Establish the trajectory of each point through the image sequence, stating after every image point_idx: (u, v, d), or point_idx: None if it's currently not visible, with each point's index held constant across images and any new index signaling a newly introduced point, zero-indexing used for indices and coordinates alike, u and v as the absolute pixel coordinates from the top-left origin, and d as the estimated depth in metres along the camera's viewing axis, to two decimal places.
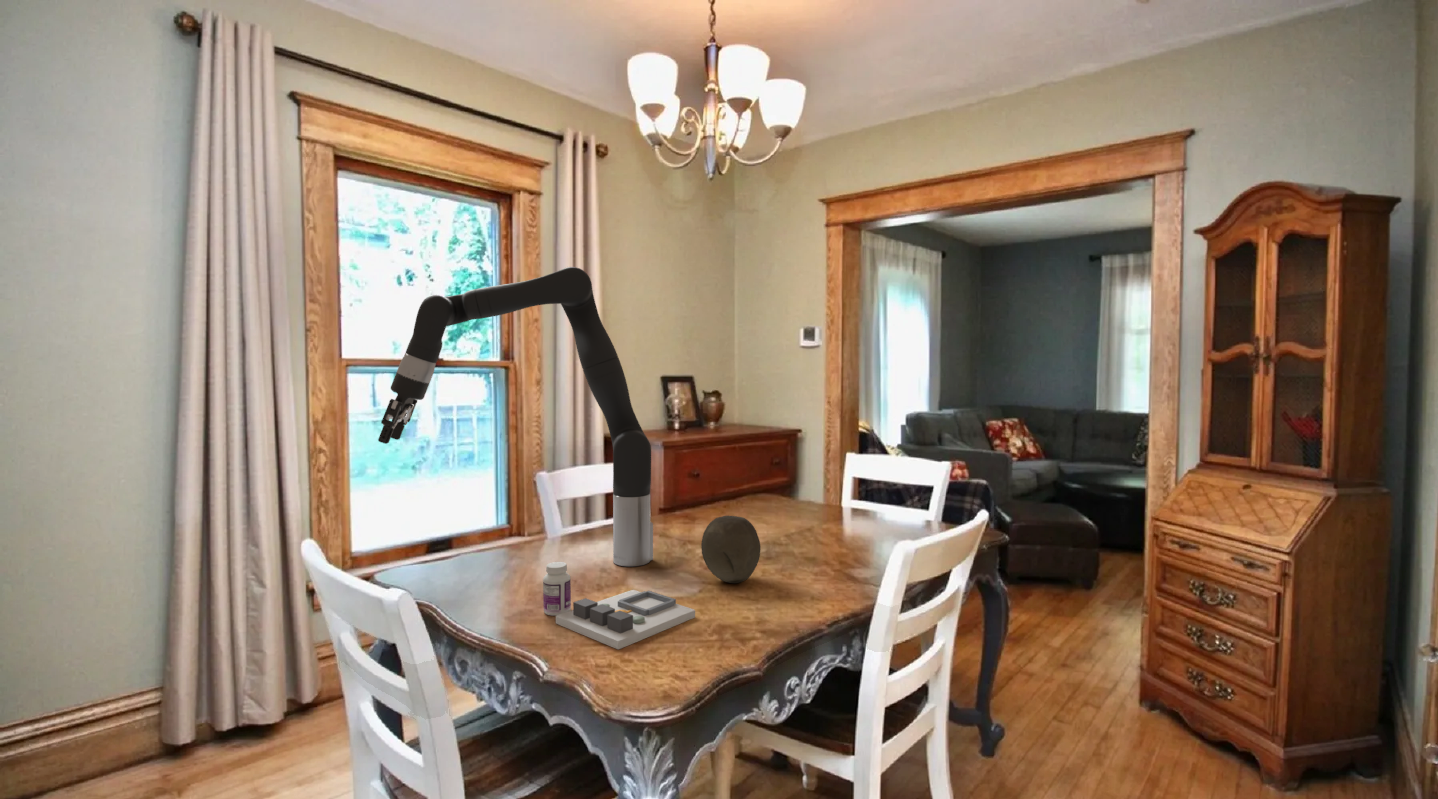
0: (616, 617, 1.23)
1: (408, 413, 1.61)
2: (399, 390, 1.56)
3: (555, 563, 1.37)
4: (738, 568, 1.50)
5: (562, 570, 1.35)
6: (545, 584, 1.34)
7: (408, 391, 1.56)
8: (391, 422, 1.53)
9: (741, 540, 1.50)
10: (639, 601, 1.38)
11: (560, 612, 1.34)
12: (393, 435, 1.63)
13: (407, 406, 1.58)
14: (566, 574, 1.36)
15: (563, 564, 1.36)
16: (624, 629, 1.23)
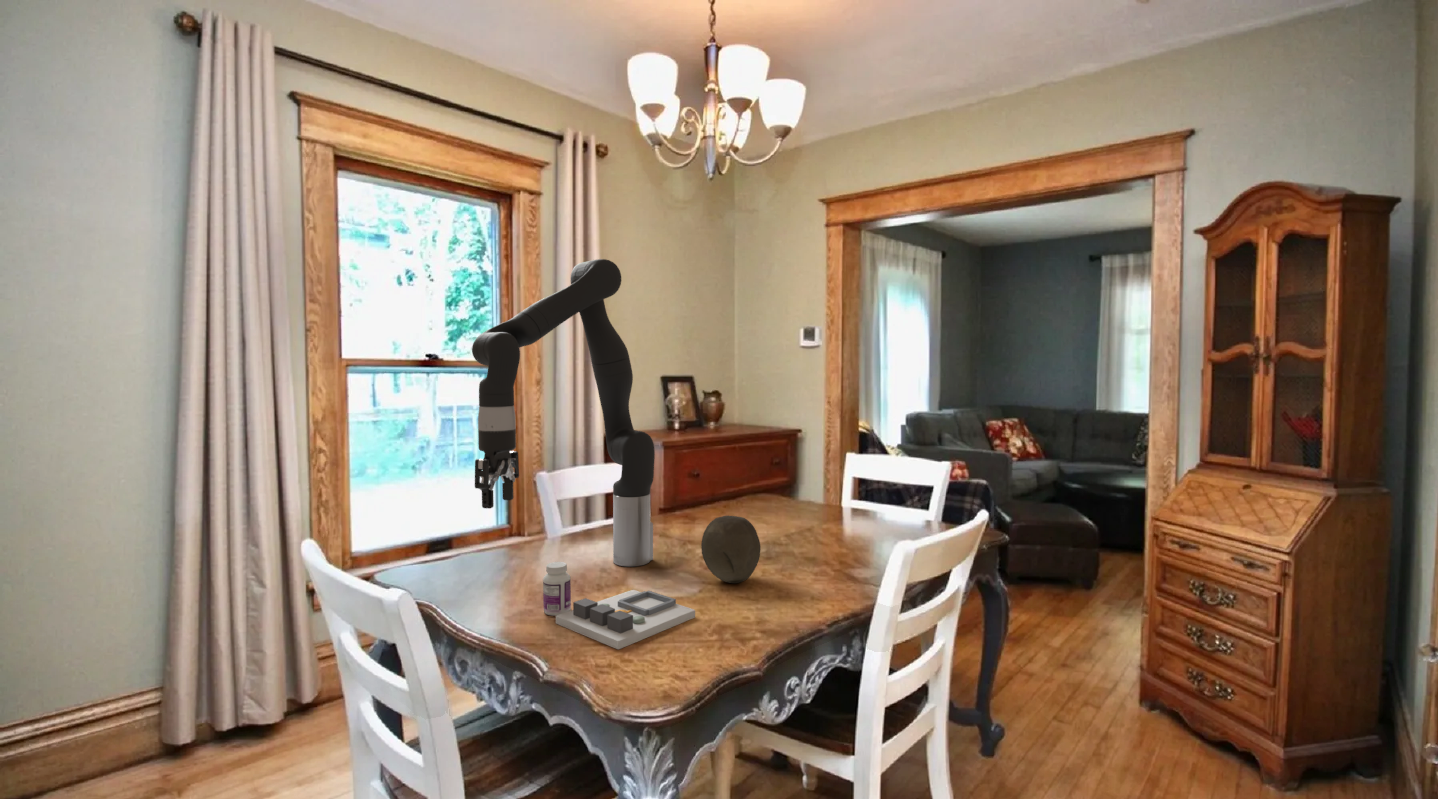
0: (616, 617, 1.23)
1: (508, 468, 1.45)
2: (484, 448, 1.39)
3: (555, 563, 1.37)
4: (738, 568, 1.50)
5: (562, 570, 1.35)
6: (545, 584, 1.34)
7: (492, 445, 1.39)
8: (484, 484, 1.36)
9: (741, 540, 1.50)
10: (639, 601, 1.38)
11: (560, 612, 1.34)
12: (505, 496, 1.47)
13: (500, 461, 1.41)
14: (566, 574, 1.36)
15: (563, 564, 1.36)
16: (624, 629, 1.23)
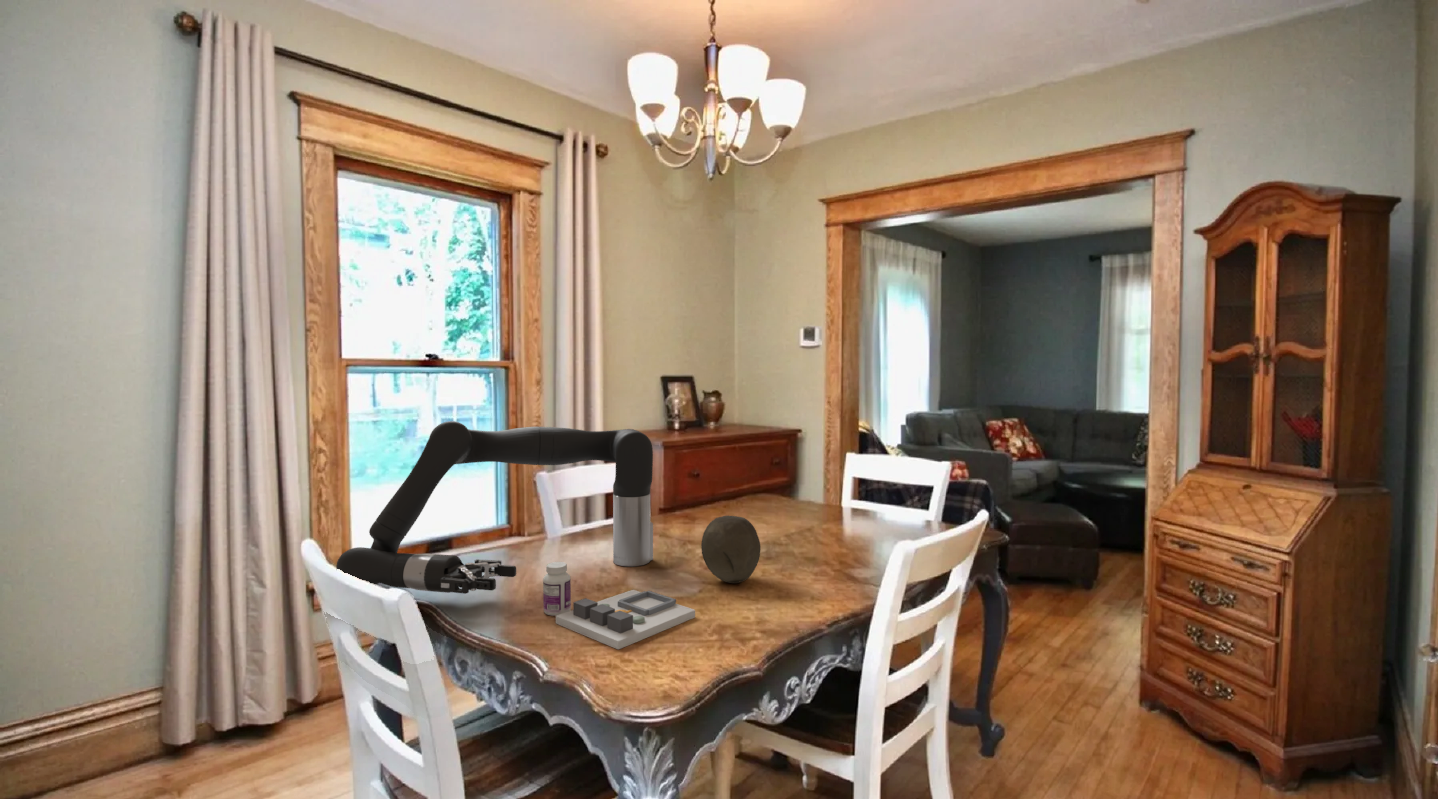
0: (616, 617, 1.23)
1: (477, 565, 1.41)
2: (440, 583, 1.37)
3: (555, 563, 1.37)
4: (738, 568, 1.50)
5: (562, 570, 1.35)
6: (545, 584, 1.34)
7: (437, 574, 1.37)
8: (461, 583, 1.32)
9: (741, 540, 1.50)
10: (639, 601, 1.38)
11: (560, 612, 1.34)
12: (511, 573, 1.42)
13: (459, 570, 1.38)
14: (566, 574, 1.36)
15: (563, 564, 1.36)
16: (624, 629, 1.23)
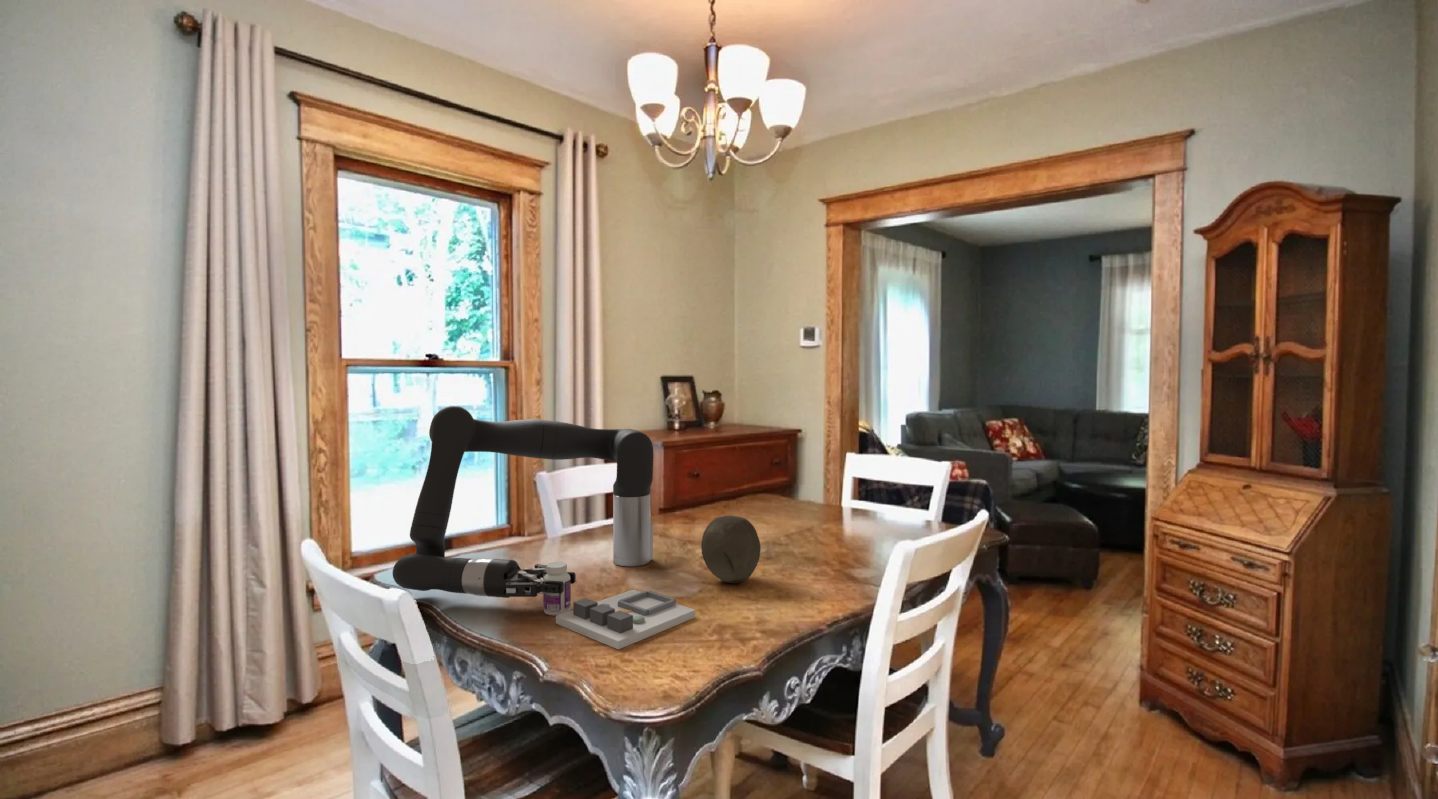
0: (616, 617, 1.23)
1: (535, 570, 1.38)
2: (499, 588, 1.35)
3: (555, 563, 1.37)
4: (738, 568, 1.50)
5: (562, 570, 1.35)
6: None
7: (497, 579, 1.35)
8: (531, 586, 1.31)
9: (741, 540, 1.50)
10: (639, 601, 1.38)
11: (560, 612, 1.34)
12: (571, 580, 1.39)
13: (518, 574, 1.36)
14: (566, 574, 1.36)
15: (563, 564, 1.36)
16: (624, 629, 1.23)
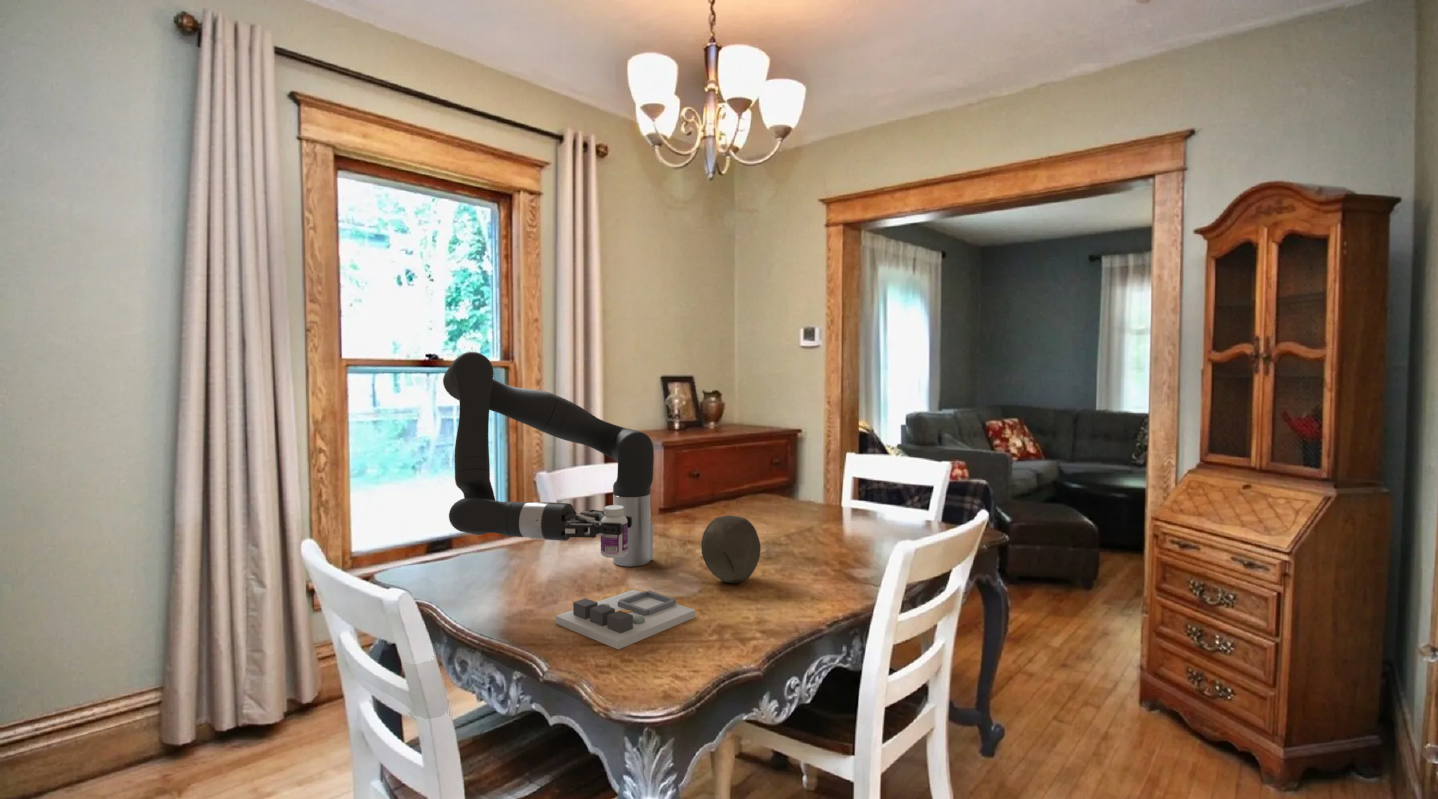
0: (616, 617, 1.23)
1: (592, 514, 1.38)
2: (557, 530, 1.34)
3: (612, 506, 1.36)
4: (738, 568, 1.50)
5: (620, 512, 1.34)
6: None
7: (555, 521, 1.34)
8: (590, 527, 1.30)
9: (741, 540, 1.50)
10: (639, 601, 1.38)
11: (618, 554, 1.33)
12: None
13: (576, 517, 1.35)
14: (623, 517, 1.35)
15: (620, 507, 1.35)
16: (624, 629, 1.23)
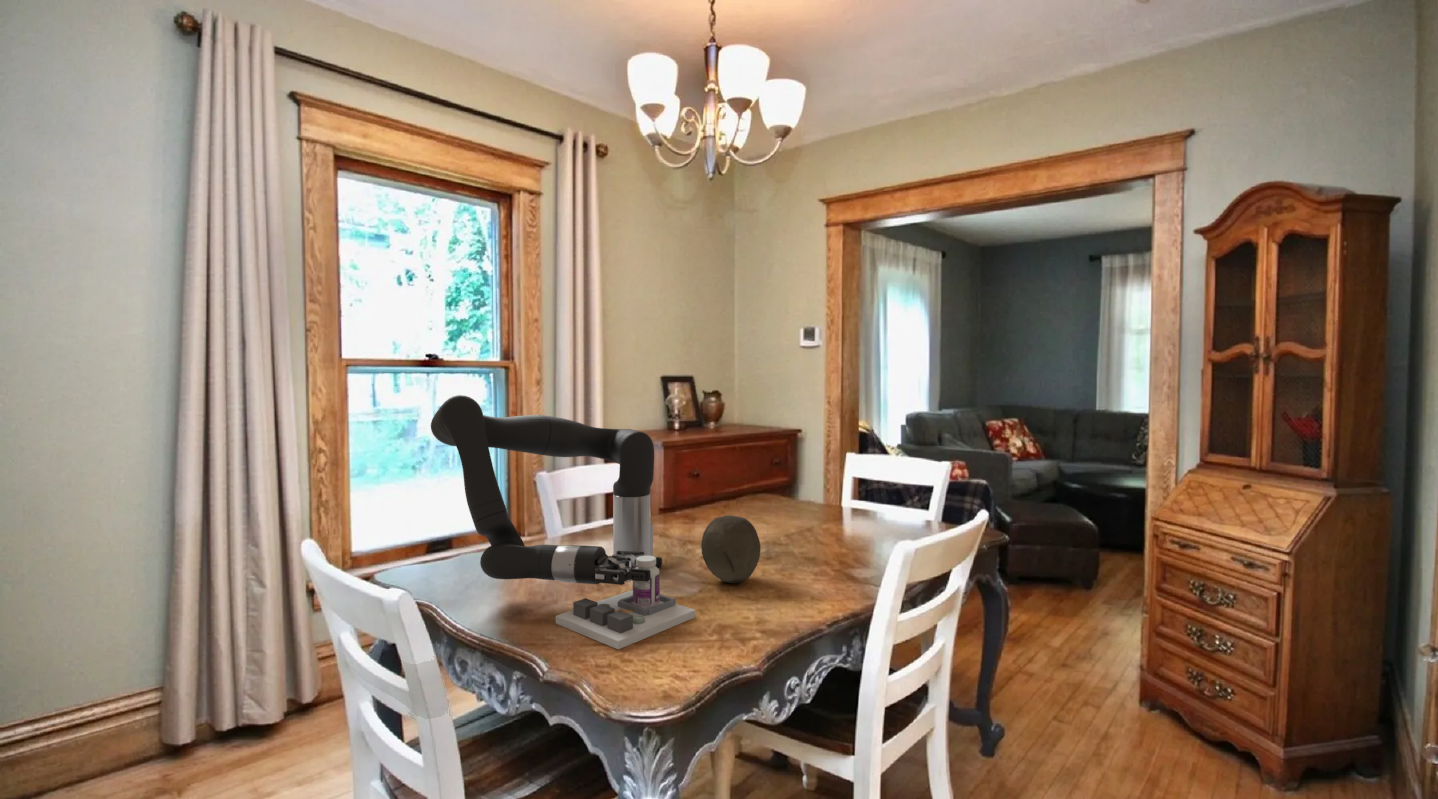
0: (616, 617, 1.23)
1: (624, 556, 1.39)
2: (590, 574, 1.34)
3: (644, 556, 1.36)
4: (738, 568, 1.50)
5: (652, 564, 1.34)
6: None
7: (588, 565, 1.34)
8: (618, 574, 1.29)
9: (741, 540, 1.50)
10: None
11: (651, 606, 1.34)
12: (657, 564, 1.39)
13: (608, 561, 1.35)
14: (656, 568, 1.36)
15: (653, 558, 1.36)
16: (624, 629, 1.23)
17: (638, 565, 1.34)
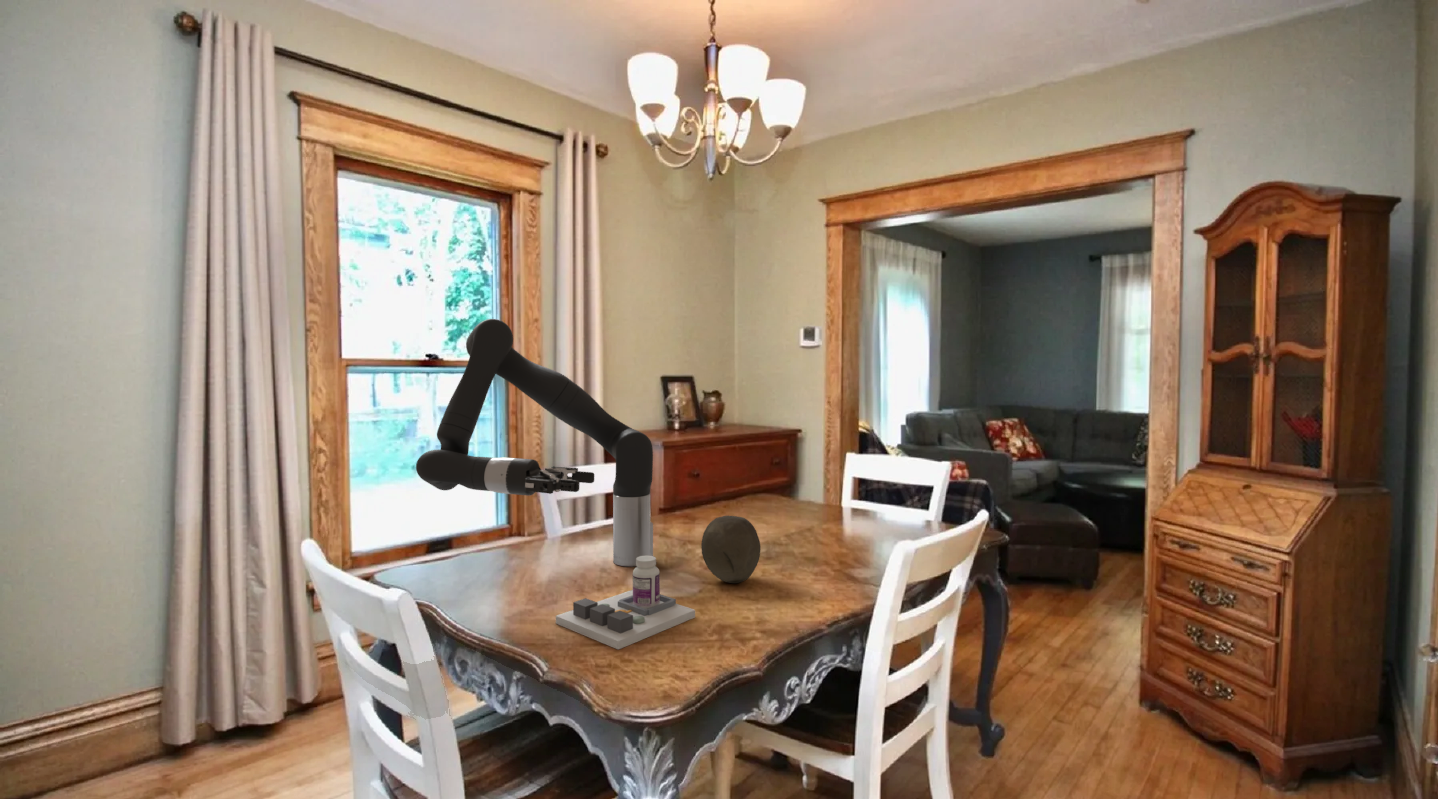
0: (616, 617, 1.23)
1: (557, 470, 1.42)
2: (522, 485, 1.38)
3: (644, 556, 1.36)
4: (738, 568, 1.50)
5: (652, 564, 1.34)
6: (636, 578, 1.34)
7: (519, 476, 1.38)
8: (547, 483, 1.33)
9: (741, 540, 1.50)
10: None
11: (651, 606, 1.34)
12: (589, 479, 1.43)
13: (540, 472, 1.39)
14: (655, 568, 1.36)
15: (652, 558, 1.36)
16: (624, 629, 1.23)
17: (638, 565, 1.34)
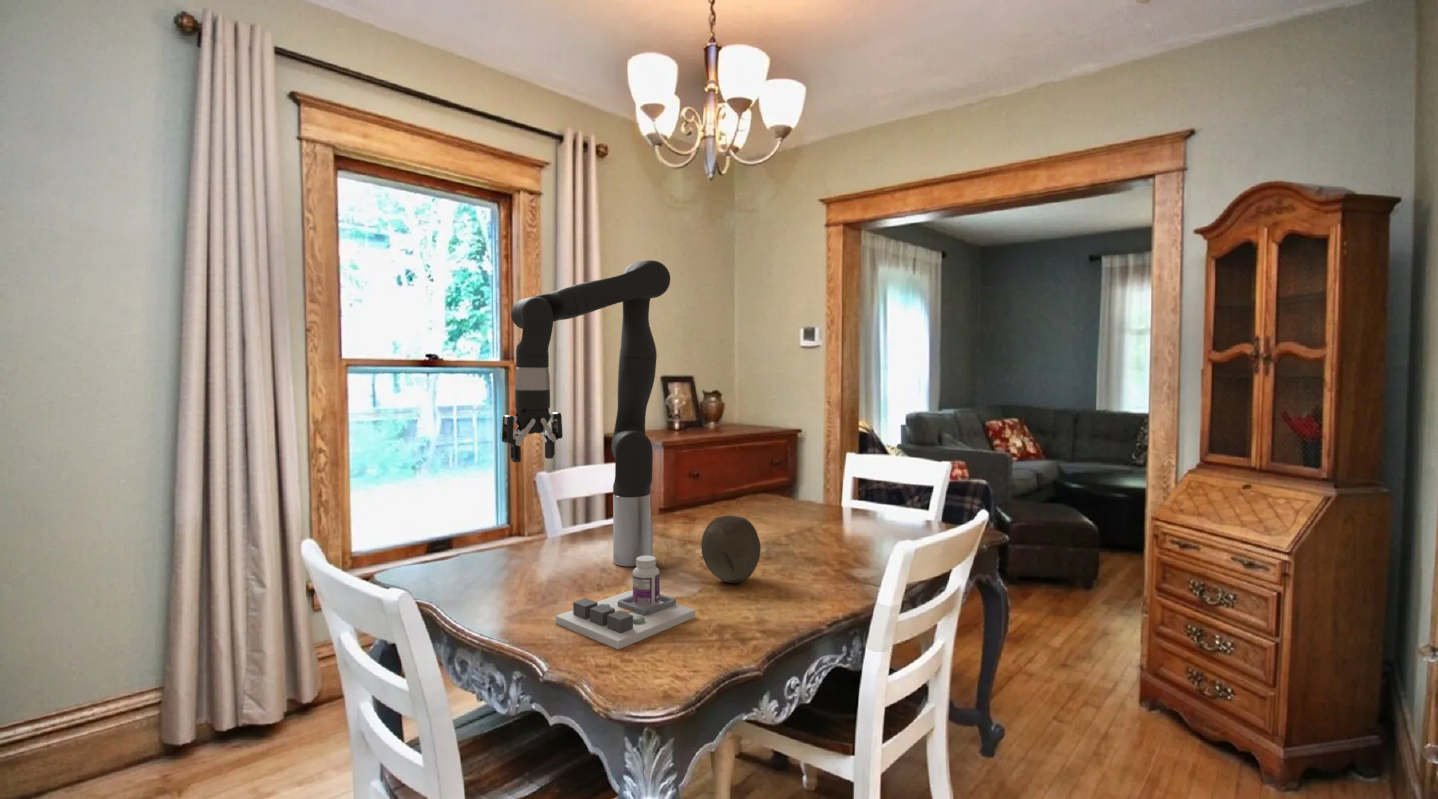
0: (616, 617, 1.23)
1: (544, 428, 1.52)
2: (516, 405, 1.49)
3: (644, 556, 1.36)
4: (738, 568, 1.50)
5: (652, 564, 1.34)
6: (636, 578, 1.34)
7: (520, 403, 1.48)
8: (507, 438, 1.46)
9: (741, 540, 1.50)
10: None
11: (651, 606, 1.34)
12: (546, 455, 1.55)
13: (530, 419, 1.49)
14: (655, 568, 1.36)
15: (652, 558, 1.36)
16: (624, 629, 1.23)
17: (638, 565, 1.34)
